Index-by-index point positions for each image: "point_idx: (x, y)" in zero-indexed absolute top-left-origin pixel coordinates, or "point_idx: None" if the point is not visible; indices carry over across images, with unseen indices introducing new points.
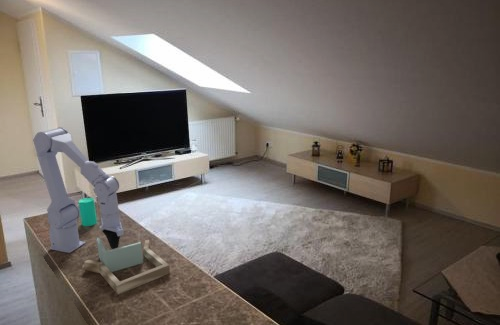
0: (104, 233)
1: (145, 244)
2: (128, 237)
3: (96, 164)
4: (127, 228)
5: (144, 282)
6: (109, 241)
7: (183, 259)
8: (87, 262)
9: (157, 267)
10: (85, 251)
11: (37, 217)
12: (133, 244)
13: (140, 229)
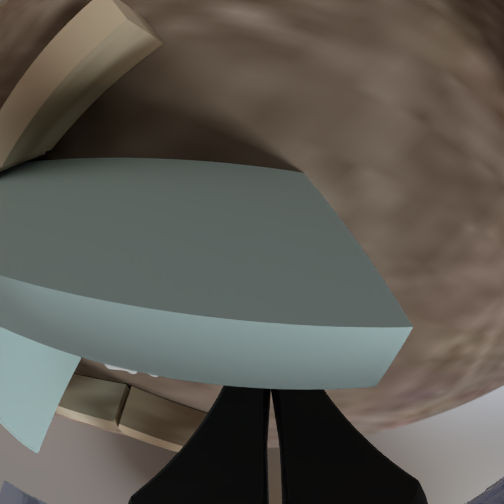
0: (345, 492)
1: (162, 442)
2: (398, 389)
3: None
4: (460, 388)
5: None
6: (257, 393)
7: (68, 417)
8: (73, 20)
9: None
10: (478, 138)
11: None
12: (8, 429)
13: (406, 421)
